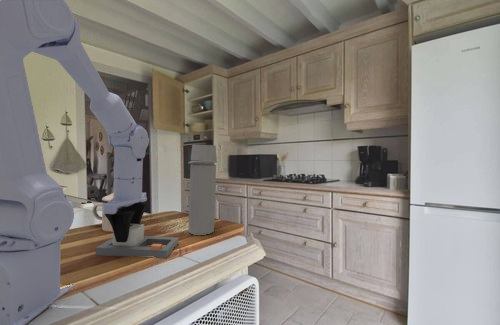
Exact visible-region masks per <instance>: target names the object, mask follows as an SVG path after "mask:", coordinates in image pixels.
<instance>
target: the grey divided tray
mask: <svg viewBox="0 0 500 325" xmlns="http://www.w3.org/2000/svg"><path fill="white" fill-rule="evenodd" d="M179 240H180V238H179V237H174V236H154V235H151V236H149V235H144V239H143V240H142V241H141V242H139V243H138V244H137V245H136V246H117V245H113V237H111V238H109V239H108V240H107V241H105V242H103V243H101V244H99V245H98V246H96V247H95V256H108V257H109V256H110V257H127V256H154V257H156V259H167V258H168V257H169V256H170V255H171V254H172V252H173V251H174V250H175V249H174V247H175V246H176V245H177V244H178V243H179V242H180V241H179ZM179 244H180V243H179ZM179 244H178V245H179ZM148 245H151V247H145V246H148ZM162 245H166V246H165V247H162ZM178 245H177V246H178ZM177 246H176V247H177ZM176 247H175V248H176ZM173 249H174V250H173ZM172 250H173V251H172Z"/></svg>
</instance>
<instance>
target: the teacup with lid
mask: <svg viewBox="0 0 500 325" xmlns="http://www.w3.org/2000/svg"><path fill="white" fill-rule="evenodd" d="M113 193H114V192H112V193H110V194H108V195H106V196H103V197H102V198H101V200H100V201H101V202H97V203H96V204H94V205H93V207H92V215H93V217H94V218H95V219H97V220H99V221H101V229H102V231H103V232H104V231H105V232H109V233H110V232H112V233H113V229H112V226H111V224H110V222H109V220H108V219H107V217H106V216H105V214H104V204H105V203H108V202H109V201H110V200H111V199H112V198H113ZM98 206H101V207H102V208H101V209H102V211H101V212H102V214H101V215H102V216H100V215H99V214H98V212H97V208H98Z"/></svg>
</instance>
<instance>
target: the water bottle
mask: <svg viewBox="0 0 500 325" xmlns="http://www.w3.org/2000/svg"><path fill="white" fill-rule="evenodd" d="M191 146H192V147H191V153H190V161H188V162H187V163H188V164H190V167H189V168H190V169H189V170H190V173H189V201H188V202H189V205H188V206H189V207H188V209H189V210H188V212H189V213H188V233H189V234H190V233H191V234H193V235H192V236H196V235H205V236H207V235H206V234H210V233H212V232H213V233H214V232H215V218H216V217H215V216H216V215H215V213H216V211H215V210H216V209H215V208H216V182H217V181H216V180H217V165H216V164H217V162H218V161H217V160H218V159H217V145H213V144H192V145H191ZM213 233H212V234H213ZM191 234H190V235H191ZM210 235H211V234H210Z"/></svg>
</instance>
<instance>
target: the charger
mask: <svg viewBox="0 0 500 325" xmlns="http://www.w3.org/2000/svg"><path fill="white" fill-rule="evenodd" d="M144 236H145V224H143V223H140V224H130V228H129V236H128V240H127V241H126V242H116V239H115V236H114V232H112V238H113V245H117V246H136V245H137V244H138V243H139V242H141V241H142V240H143V239H144Z"/></svg>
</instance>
